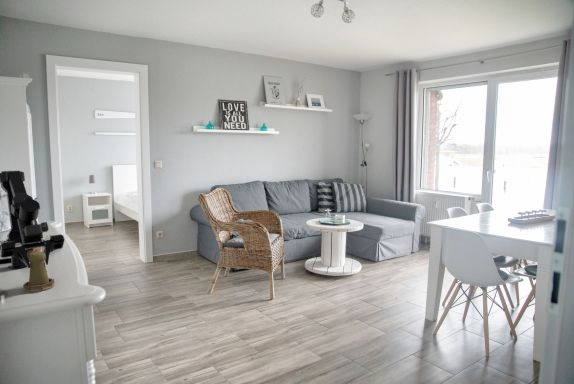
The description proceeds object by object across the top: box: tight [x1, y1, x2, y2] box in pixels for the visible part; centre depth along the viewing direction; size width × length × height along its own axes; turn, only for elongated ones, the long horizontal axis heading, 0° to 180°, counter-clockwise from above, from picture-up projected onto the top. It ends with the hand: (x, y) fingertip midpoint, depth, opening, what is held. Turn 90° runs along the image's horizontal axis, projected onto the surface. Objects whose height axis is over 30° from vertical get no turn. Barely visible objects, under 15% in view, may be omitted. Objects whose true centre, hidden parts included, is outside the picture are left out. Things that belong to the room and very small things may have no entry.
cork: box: [28, 251, 49, 286], centre depth 139 cm, size 6×6×11 cm
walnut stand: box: [22, 277, 55, 293], centre depth 139 cm, size 9×9×2 cm
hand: (38, 265), depth 138 cm, fingers closed on cork, 5 cm apart
